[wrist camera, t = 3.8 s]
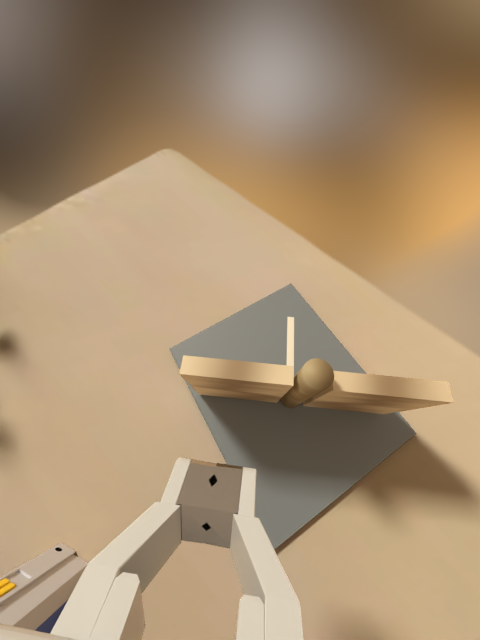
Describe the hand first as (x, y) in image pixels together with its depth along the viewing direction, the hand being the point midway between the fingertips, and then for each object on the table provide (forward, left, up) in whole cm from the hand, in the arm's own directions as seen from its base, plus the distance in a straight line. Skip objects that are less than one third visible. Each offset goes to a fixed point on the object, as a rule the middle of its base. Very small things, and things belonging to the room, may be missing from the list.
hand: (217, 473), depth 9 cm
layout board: (+7, +2, -13) cm, 15 cm away
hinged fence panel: (+3, +4, -12) cm, 13 cm away
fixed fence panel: (+10, -1, -12) cm, 16 cm away
